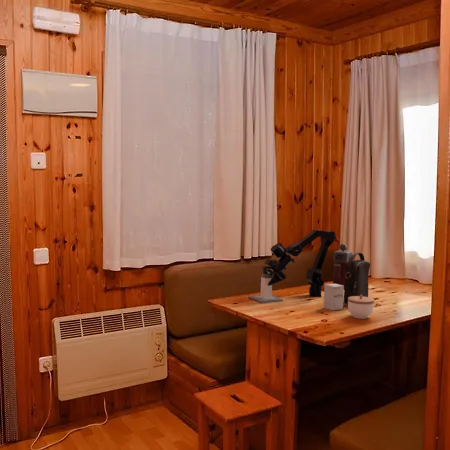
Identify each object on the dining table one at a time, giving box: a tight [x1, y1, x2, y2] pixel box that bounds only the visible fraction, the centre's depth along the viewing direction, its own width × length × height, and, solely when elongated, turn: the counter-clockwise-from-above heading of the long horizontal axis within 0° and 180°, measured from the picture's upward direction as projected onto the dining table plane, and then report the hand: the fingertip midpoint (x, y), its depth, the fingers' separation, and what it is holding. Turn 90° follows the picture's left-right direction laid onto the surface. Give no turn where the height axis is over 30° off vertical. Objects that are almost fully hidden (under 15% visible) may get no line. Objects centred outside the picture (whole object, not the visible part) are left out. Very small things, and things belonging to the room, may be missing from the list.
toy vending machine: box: [332, 243, 353, 288], centre depth 329 cm, size 9×11×28 cm
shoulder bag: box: [343, 252, 371, 306], centre depth 290 cm, size 23×9×28 cm, turn 142°
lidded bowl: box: [347, 295, 375, 320], centre depth 258 cm, size 13×13×11 cm
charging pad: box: [248, 294, 284, 304], centre depth 293 cm, size 14×14×1 cm
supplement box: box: [323, 283, 344, 311], centre depth 275 cm, size 7×7×13 cm
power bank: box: [260, 273, 273, 299], centre depth 292 cm, size 5×5×13 cm
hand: (264, 283), depth 291 cm, fingers open, 9 cm apart
